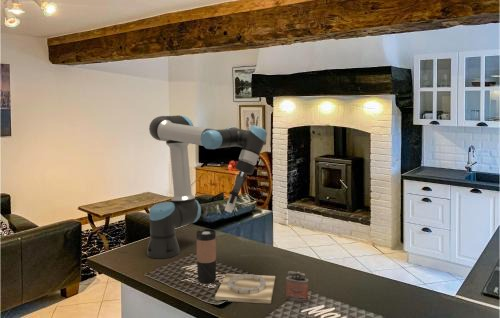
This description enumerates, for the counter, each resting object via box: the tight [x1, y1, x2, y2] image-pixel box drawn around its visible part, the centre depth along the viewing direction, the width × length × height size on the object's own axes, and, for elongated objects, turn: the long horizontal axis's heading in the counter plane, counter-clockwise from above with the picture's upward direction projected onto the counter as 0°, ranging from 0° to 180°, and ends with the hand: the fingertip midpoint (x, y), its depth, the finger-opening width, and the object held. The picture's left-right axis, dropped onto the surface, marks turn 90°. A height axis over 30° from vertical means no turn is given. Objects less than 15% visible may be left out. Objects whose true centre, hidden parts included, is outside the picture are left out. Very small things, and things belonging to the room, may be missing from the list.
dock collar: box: [228, 273, 266, 294], centre depth 152 cm, size 14×14×2 cm
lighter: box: [285, 270, 309, 303], centre depth 144 cm, size 8×3×10 cm, turn 71°
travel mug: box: [195, 228, 217, 285], centre depth 159 cm, size 8×8×20 cm
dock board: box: [214, 273, 276, 305], centre depth 152 cm, size 20×20×2 cm
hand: (228, 211), depth 161 cm, fingers open, 13 cm apart
